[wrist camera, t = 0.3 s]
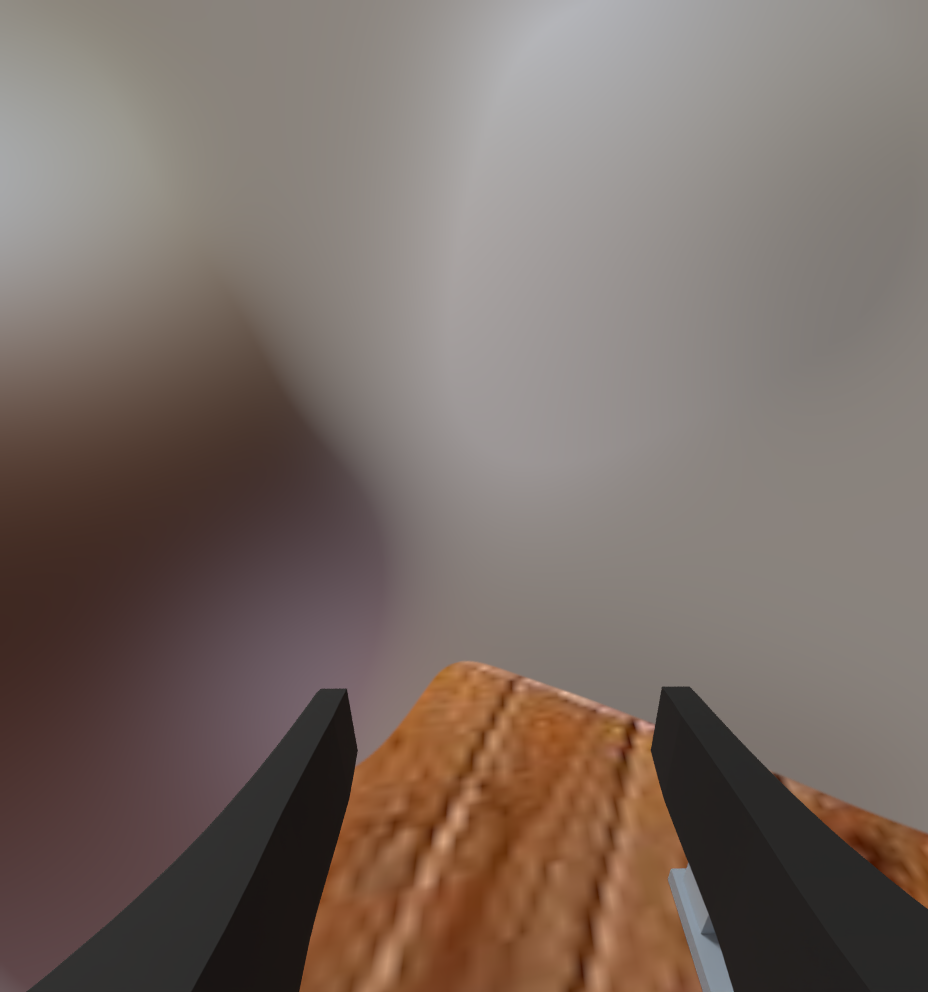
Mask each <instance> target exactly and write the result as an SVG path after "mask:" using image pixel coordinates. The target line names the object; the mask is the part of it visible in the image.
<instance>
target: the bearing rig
mask: <svg viewBox="0 0 928 992" xmlns="http://www.w3.org/2000/svg"><path fill="white" fill-rule="evenodd" d="M668 881H669V884H670V888H671V891H672V894H673V897H674V900H675V904H676V907H677V910H678V913H679V916H680V920H681V923H682V926H683V929H684V932H685V936H686V939H687V942H688V945H689V948H690V952H691V955H692V958H693V961H694V964H695V968H696V971H697V974H698V977H699V980H700V984H701V987H702V990H703V992H734V991H733V988H732V984H731V981H730V978H729V974H728V971H727V968H726V965H725V961H724V958H723V955H722V951H721V948H720V945H719V942H718V939H717V936H716V934H715V931H714V928H713V925H712V922H711V919H710V917H709V914H708V912H707V909H706V906H705V904H704V901H703V899H702V896H701V894H700V891H699V888H698V886H697V883H696V881H695V878H694V876H693V873H692V871H691V868H690V865H689V863H688V866H687V869H671V871H670V874H669V877H668Z"/></svg>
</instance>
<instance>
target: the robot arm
mask: <svg viewBox="0 0 928 992" xmlns="http://www.w3.org/2000/svg"><path fill="white" fill-rule="evenodd" d="M357 751H358V750H357V744H356V738H355V734H354V727H353V722H352V716H351V710H350V704H349V699H348V693H347V689H320V690H319V691H318V692H317V693H316V694H315V696H314V697H313V699H312V700H311V701H310V703H309V704H308V706H307V707H306V708H305V710H304V711H303V712H302V714H301V715H300V716H299V718H298V719H297V720H296V722H295V723H294V724H293V726H292V727H291V728H290V730H289V731H288V732H287V734H286V735H285V736H284V738H283V739H282V740H281V742H280V743H279V744H278V745H277V747H276V748H275V749H274V750H273V752H272V753H271V754H270V755H269V757H268V758H267V759H266V760H265V762H264V763H263V764H262V765H261V767H260V768H259V769H258V770H257V772H256V773H255V774H254V775H253V776H252V778H251V779H250V780H249V781H248V782H247V783H246V785H245V786H244V787H243V788H242V789H241V790H240V792H239V793H238V794H237V795H236V796H235V797H234V798H233V800H232V801H231V802H230V803H229V804H228V805H227V807H226V808H225V809H224V810H223V811H222V812H221V813H220V814H219V816H218V817H217V818H216V819H215V820H214V821H213V822H212V823H211V824H210V826H208V828H207V829H206V830H205V831H204V832H203V833H202V834H201V835H200V836H199V837H198V838H197V839H196V840H195V841H194V842H193V843H192V844H191V845H190V846H189V847H188V848H187V850H185V852H183V854H181V856H180V857H179V858H178V859H177V860H176V861H175V862H174V863H173V864H172V865H170V866H169V867H168V868H167V869H166V870H165V871H164V872H163V873H162V874H161V875H160V876H159V877H158V878H157V879H156V880H155V881H154V882H153V883H152V884H151V885H150V886H148V887H147V888H146V889H145V890H144V891H143V892H142V893H141V894H140V895H139V896H138V897H137V898H136V899H135V900H134V901H133V902H132V903H130V904H129V905H128V906H127V907H126V908H125V909H124V910H123V911H122V912H120V913H119V914H118V915H117V916H116V917H115V918H114V919H113V920H112V921H110V922H109V923H108V924H107V925H106V926H105V927H103V928H102V929H101V930H100V931H99V932H97V933H96V934H95V935H94V936H93V937H92V938H90V939H89V940H88V941H87V942H86V943H85V944H83V945H82V946H81V947H80V948H79V949H78V950H76V951H75V952H74V953H73V954H72V955H70V956H69V957H68V958H67V959H66V960H65V961H63V962H62V963H61V964H60V965H59V966H58V967H56V968H55V969H54V970H53V971H52V972H50V973H49V974H48V975H47V976H45V977H44V978H43V979H42V980H40V981H39V982H38V983H37V984H36V985H34V986H33V987H32V988H31V989H29V990H28V991H27V992H299V989H300V985H301V980H302V975H303V970H304V965H305V960H306V955H307V951H308V946H309V941H310V937H311V933H312V929H313V925H314V921H315V917H316V913H317V910H318V906H319V903H320V899H321V896H322V892H323V889H324V885H325V882H326V878H327V875H328V871H329V868H330V864H331V861H332V857H333V854H334V851H335V847H336V844H337V840H338V837H339V833H340V830H341V826H342V823H343V819H344V815H345V812H346V808H347V805H348V801H349V797H350V792H351V786H352V781H353V775H354V769H355V763H356V757H357ZM651 753H652V757H653V761H654V764H655V768H656V772H657V776H658V780H659V783H660V787H661V790H662V794H663V797H664V800H665V803H666V806H667V808H668V811H669V814H670V816H671V819H672V822H673V824H674V827H675V829H676V832H677V835H678V837H679V840H680V842H681V845H682V847H683V850H684V853H685V855H686V858H687V860H688V863H689V865H690V868H691V871H692V873H693V876H694V878H695V881H696V883H697V886H698V888H699V891H700V894H701V896H702V899H703V901H704V904H705V906H706V909H707V912H708V914H709V917H710V919H711V922H712V925H713V928H714V931H715V934H716V936H717V939H718V942H719V945H720V948H721V951H722V955H723V958H724V961H725V965H726V968H727V971H728V974H729V978H730V981H731V984H732V988H733V991H734V992H928V909H927V908H926V907H924V906H923V905H922V904H920V903H919V902H918V901H916V900H915V899H914V898H912V897H911V896H910V895H909V894H907V893H906V892H905V891H904V890H902V889H901V888H900V887H899V886H897V885H896V884H895V883H894V882H892V881H891V880H890V879H889V878H887V877H886V876H885V875H884V874H882V873H881V872H880V871H879V870H878V869H877V868H875V867H874V866H873V865H872V864H871V863H869V862H868V861H867V860H866V859H865V858H863V857H862V856H861V855H860V854H859V853H858V852H856V851H855V850H854V849H853V848H852V847H850V846H849V845H848V844H847V843H846V842H844V841H843V840H842V839H841V838H840V837H839V836H838V835H837V834H835V833H834V832H833V831H832V830H831V829H830V828H829V827H828V826H827V825H825V824H824V823H823V822H822V821H821V820H820V819H819V818H818V817H817V816H816V815H815V814H814V813H812V812H811V811H810V810H809V809H808V808H807V807H806V806H805V805H804V804H803V803H802V802H801V801H800V800H799V799H798V798H796V797H795V796H794V795H793V794H792V793H791V792H790V791H789V790H788V789H787V788H786V787H785V786H784V785H783V784H782V783H781V782H780V781H779V780H778V779H777V778H776V777H775V776H774V775H773V774H772V773H771V772H770V771H769V770H768V769H767V768H766V767H765V766H764V765H763V764H762V763H761V762H760V761H759V760H758V759H757V758H756V757H755V756H754V755H753V754H752V753H751V752H750V751H749V750H748V749H747V748H746V746H745V745H743V744H742V742H741V741H740V740H739V739H738V738H737V737H736V736H735V735H734V734H733V733H732V732H731V731H730V730H729V728H728V727H726V725H725V724H724V723H723V722H722V721H721V720H720V719H719V718H718V717H717V716H716V714H715V713H714V712H712V710H711V709H710V708H709V707H708V706H707V705H706V704H705V702H704V701H703V700H702V699H701V698H700V697H699V696H698V695H697V694H696V693H695V692H694V691H693V690H692V689H691V688H690V687H662V690H661V695H660V701H659V707H658V713H657V718H656V724H655V730H654V735H653V741H652V747H651Z"/></svg>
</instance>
